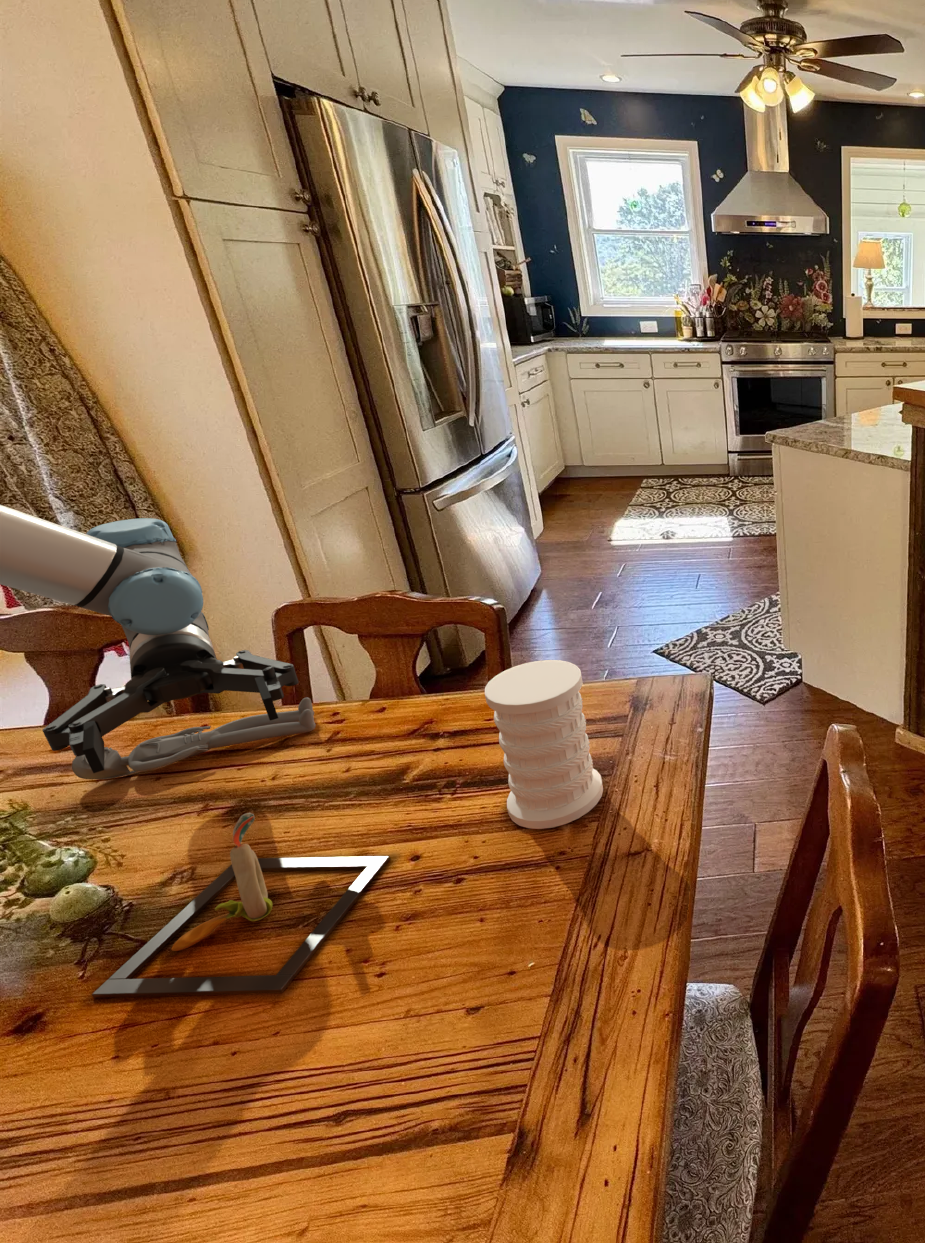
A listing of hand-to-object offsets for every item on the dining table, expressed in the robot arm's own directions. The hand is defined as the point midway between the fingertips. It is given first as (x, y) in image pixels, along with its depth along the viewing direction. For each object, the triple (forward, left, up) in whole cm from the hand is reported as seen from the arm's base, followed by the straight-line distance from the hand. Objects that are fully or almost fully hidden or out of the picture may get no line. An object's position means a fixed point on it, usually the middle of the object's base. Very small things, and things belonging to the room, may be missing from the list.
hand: (187, 733), depth 74 cm
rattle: (+4, -7, -19) cm, 21 cm away
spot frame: (+7, -7, -19) cm, 21 cm away
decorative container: (+31, +12, -19) cm, 38 cm away
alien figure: (-23, +23, -19) cm, 37 cm away
